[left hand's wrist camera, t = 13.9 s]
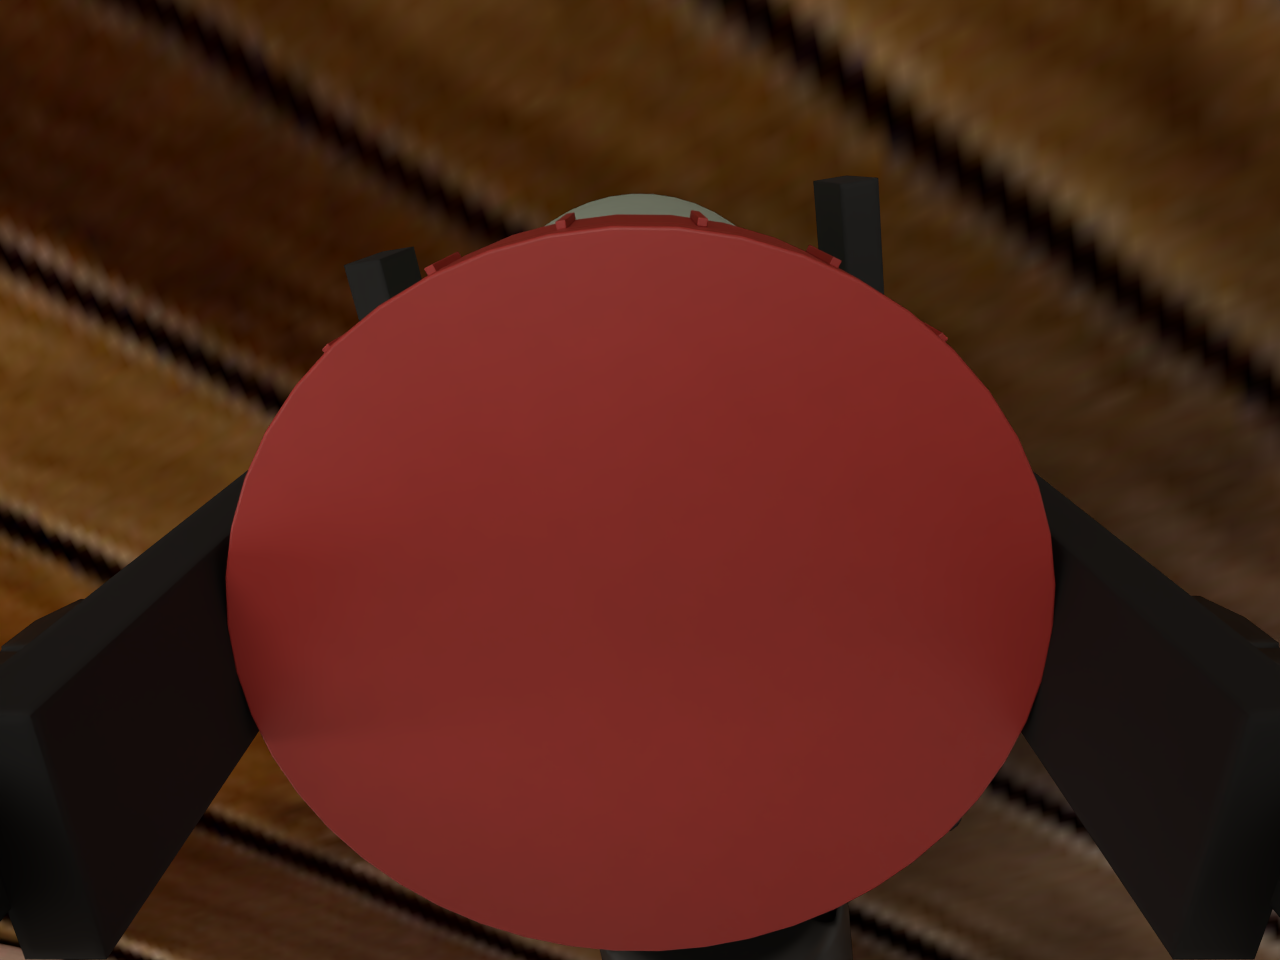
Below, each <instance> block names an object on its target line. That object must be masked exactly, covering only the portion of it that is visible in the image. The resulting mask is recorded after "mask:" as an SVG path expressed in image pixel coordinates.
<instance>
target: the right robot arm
mask: <svg viewBox="0 0 1280 960" xmlns="http://www.w3.org/2000/svg"><path fill="white" fill-rule="evenodd" d="M813 182H814V195H815V208H816V221H817V234H818V248H819V250H821V251H823V252H825V253H827V254H829V255H831V256H833V257H835V258H837V259H839V260H841V263H840V265H839V267H838V268H840V269H841V270H843V271H845V272H847V273H849V274H851V275H853V276H854V277H856V278H858V279H860V280H861V281H863V282H865V283H866V284H868V285H869V286H871V287H872V288H874V289H876V290H877V291H879V292H880V293H882V294H883V295H884V285H883V265H882V246H881V226H880V206H879V186H878V178H872V177H858V176H842V177H835V178H829V179H823V180H817V181H813ZM344 267H345V270H346V274H347V278H348V281H349V285H350V289H351V292H352V296H353V299H354V303H355V307H356V310H357V314H358V318H359V321H361V320H362V319H363V318H364V317H366V316H367V315H368V314H369V313H370V312H372V311H373V310H374V309H375V308H376V307H378V306H379V305H381V304H382V303H384V302H386V301H387V300H389V299H391V298H392V297H394V296H395V295H397V294H399V293H400V292H402V291H404V290H405V289H407V288H409V287H410V286H412V285H414V284H415V283H417V282H418V281H420V280H422V279H421V275H420V271H419V267H418V263H417V259H416V255H415V251H414V247H409V248H402V249H396V250H390V251H384V252H380V253H378V254H375V255H372V256H369V257H366V258H363V259H360V260H358V261H355V262H352V263H349V264H346V265H344ZM961 818H962V817H961ZM960 821H961V819H960V820H959V821H958V822H957V823H956V824H955V825H954V826H953V827H952V828H951V829H950V830H949V831H951V830H952V829H954V828H955V827H956V826H957V825H958V824H959V822H960ZM600 952H601V956H602V960H853V955H852V943H851V931H850V920H849V909H848V902H847V903H845V904H844V905H842V906H840V907H838V908H836V909H834V910H831V911H829V912H826V913H824V914H821V915H819V916H816V917H814V918H811V919H809V920H807V921H804V922H802V923H799V924H797V925H794V926H791V927H788V928H784V929H781V930H777V931H774V932H770V933H767V934H764V935H760V936H757V937H753V938H750V939H745V940H739V941H734V942H729V943H723V944H718V945H713V946H707V947H699V948H687V949H676V950H665V951H613V950H603V949H600Z"/></svg>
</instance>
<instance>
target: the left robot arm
mask: <svg viewBox="0 0 1280 960" xmlns="http://www.w3.org/2000/svg"><path fill="white" fill-rule="evenodd" d="M247 472H248V471H246V472H245V473H244V474H242V475H241V476H240V477H239V478H237V479H236V480H235V481H234V482H232V483H231V484H230V485H229V486H227V487H226V488H225V489H223V490H222V491H221V492H220V493H218V494H217V495H216V496H215V497H213V498H212V499H211V500H210V501H208V502H207V503H206V504H204V505H203V506H202V507H201V508H199V509H198V510H197V511H196V512H194V513H193V514H192V515H191V516H189V517H188V518H187V519H185V520H184V521H183V522H182V523H180V524H179V525H178V526H177V527H175V528H174V529H173V530H172V531H170V532H169V533H168V534H166V535H165V536H164V537H163V538H161V539H160V540H159V541H158V542H156V543H155V544H154V545H153V546H151V547H150V548H149V549H147V550H146V551H145V552H144V553H142V554H141V555H140V556H139V557H137V558H136V559H135V560H134V561H132V562H131V563H130V564H128V565H127V566H126V567H125V568H123V569H122V570H121V571H120V572H118V573H117V574H116V575H115V576H113V577H112V578H111V579H109V580H108V581H107V582H106V583H104V584H103V585H102V586H101V587H99V588H98V589H97V590H95V591H94V592H93V593H92V594H90V595H89V596H88V597H87V598H85V599H80V600H78V601H75V602H73V603H71V604H69V605H67V606H65V607H63V608H61V609H59V610H57V611H55V612H52V613H50V614H48V615H46V616H44V617H42V618H40V619H38V620H36V621H34V622H33V623H32V624H30V625H29V626H28V627H26V628H25V629H24V630H22V631H21V632H20V633H18V634H17V635H16V636H15V637H13V638H12V639H11V640H9V641H8V642H7V643H5V644H4V645H3V646H2V650H1V651H0V921H1V920H2V919H3V917H4V916H5V915H6V914H7V913H8V914H9V916H10V919H11V922H12V925H13V927H14V930H15V933H16V936H17V939H18V941H19V944H20V947H21V950H22V952H23V955H24V958H25V959H107V958H108V956H109V955H110V953H111V952H112V950H113V949H114V947H115V946H116V944H117V943H118V941H119V940H120V938H121V937H122V935H123V934H124V932H125V931H126V929H127V928H128V926H129V925H130V923H131V922H132V920H133V919H134V917H135V916H136V914H137V913H138V911H139V910H140V908H141V907H142V905H143V904H144V902H145V901H146V899H147V898H148V896H149V895H150V893H151V892H152V890H153V889H154V887H155V886H156V884H157V883H158V881H159V880H160V878H161V877H162V875H163V874H164V872H165V871H166V869H167V868H168V866H169V865H170V863H171V862H172V860H173V859H174V857H175V856H176V854H177V853H178V851H179V850H180V848H181V847H182V845H183V844H184V842H185V841H186V839H187V838H188V836H189V835H190V833H191V832H192V830H193V829H194V827H195V826H196V824H197V823H198V821H199V820H200V818H201V817H202V815H203V814H204V812H205V811H206V809H207V808H208V806H209V805H210V803H211V802H212V800H213V799H214V797H215V796H216V794H217V793H218V791H219V790H220V788H221V787H222V785H223V784H224V782H225V781H226V779H227V778H228V776H229V775H230V773H231V772H232V770H233V769H234V768H235V766H236V765H237V763H238V762H239V760H240V759H241V757H242V756H243V754H244V753H245V751H246V750H247V748H248V747H249V745H250V744H251V742H252V741H253V739H254V738H255V736H256V735H257V733H258V732H259V729H258V727H257V725H256V723H255V721H254V719H253V717H252V715H251V712H250V709H249V707H248V704H247V701H246V698H245V695H244V692H243V689H242V686H241V683H240V681H239V678H238V675H237V672H236V667H235V662H234V657H233V651H232V646H231V641H230V636H229V630H228V625H227V600H226V569H227V560H228V551H229V542H230V533H231V526H232V522H233V519H234V515H235V512H236V508H237V504H238V501H239V497H240V493H241V490H242V486H243V482H244V479H245V476H246V474H247ZM1033 474H1034V476H1035V478H1036V481H1037V483H1038V485H1039V489H1040V493H1041V497H1042V501H1043V505H1044V509H1045V513H1046V517H1047V521H1048V525H1049V529H1050V533H1051V542H1052V553H1053V564H1054V575H1055V598H1054V614H1053V627H1052V633H1051V638H1050V642H1049V647H1048V652H1047V657H1046V662H1045V667H1044V672H1043V677H1042V681H1041V684H1040V687H1039V689H1038V692H1037V695H1036V697H1035V700H1034V703H1033V705H1032V708H1031V711H1030V714H1029V716H1028V719H1027V722H1026V724H1025V725H1024V727H1023V729H1022V731H1021V732H1022V734H1023V735H1024V737H1025V738H1026V740H1027V741H1028V743H1029V744H1030V746H1031V747H1032V749H1033V750H1034V752H1035V753H1036V755H1037V756H1038V758H1039V759H1040V761H1041V762H1042V764H1043V765H1044V767H1045V768H1046V770H1047V771H1048V773H1049V774H1050V776H1051V777H1052V779H1053V780H1054V782H1055V783H1056V785H1057V786H1058V788H1059V789H1060V791H1061V792H1062V794H1063V795H1064V797H1065V798H1066V800H1067V801H1068V803H1069V804H1070V806H1071V807H1072V809H1073V810H1074V812H1075V813H1076V815H1077V816H1078V818H1079V819H1080V821H1081V822H1082V824H1083V825H1084V827H1085V828H1086V830H1087V831H1088V833H1089V834H1090V836H1091V837H1092V839H1093V840H1094V842H1095V843H1096V845H1097V846H1098V848H1099V849H1100V851H1101V852H1102V854H1103V855H1104V857H1105V858H1106V860H1107V861H1108V863H1109V864H1110V866H1111V867H1112V869H1113V870H1114V872H1115V873H1116V875H1117V876H1118V878H1119V879H1120V881H1121V882H1122V884H1123V885H1124V887H1125V888H1126V890H1127V891H1128V893H1129V894H1130V896H1131V897H1132V899H1133V900H1134V902H1135V903H1136V905H1137V906H1138V908H1139V909H1140V911H1141V912H1142V914H1143V915H1144V917H1145V918H1146V920H1147V921H1148V923H1149V924H1150V925H1151V927H1152V928H1153V930H1154V931H1155V933H1156V934H1157V936H1158V937H1159V939H1160V940H1161V942H1162V943H1163V945H1164V946H1165V948H1166V949H1167V951H1168V952H1169V954H1170V955H1171V957H1172V958H1173V959H1255V956H1256V953H1257V951H1258V948H1259V945H1260V942H1261V940H1262V937H1263V934H1264V931H1265V928H1266V926H1267V923H1268V920H1269V917H1270V915H1271V912H1272V909H1273V910H1274V911H1275V912H1276V913H1277V914H1278V916H1279V917H1280V648H1279V643H1278V642H1277V641H1275V640H1274V639H1273V638H1271V637H1270V636H1269V635H1268V634H1266V633H1265V632H1264V631H1262V630H1261V629H1260V628H1258V627H1257V626H1256V625H1254V624H1253V623H1252V622H1250V621H1249V620H1248V619H1246V618H1245V617H1243V616H1241V615H1239V614H1236V613H1234V612H1232V611H1230V610H1228V609H1226V608H1224V607H1222V606H1220V605H1218V604H1215V603H1213V602H1211V601H1209V600H1207V599H1205V598H1203V597H1201V596H1190V595H1189V594H1188V593H1186V592H1185V591H1184V590H1183V589H1181V588H1180V587H1179V586H1178V585H1176V584H1175V583H1174V582H1173V581H1171V580H1170V579H1169V578H1167V577H1166V576H1165V575H1164V574H1162V573H1161V572H1160V571H1159V570H1157V569H1156V568H1155V567H1154V566H1152V565H1151V564H1150V563H1148V562H1147V561H1146V560H1145V559H1143V558H1142V557H1141V556H1140V555H1138V554H1137V553H1136V552H1135V551H1133V550H1132V549H1131V548H1129V547H1128V546H1127V545H1126V544H1124V543H1123V542H1122V541H1121V540H1119V539H1118V538H1117V537H1116V536H1114V535H1113V534H1112V533H1110V532H1109V531H1108V530H1107V529H1105V528H1104V527H1103V526H1102V525H1100V524H1099V523H1098V522H1097V521H1095V520H1094V519H1093V518H1091V517H1090V516H1089V515H1088V514H1086V513H1085V512H1084V511H1083V510H1081V509H1080V508H1079V507H1078V506H1076V505H1075V504H1074V503H1072V502H1071V501H1070V500H1069V499H1067V498H1066V497H1065V496H1064V495H1062V494H1061V493H1060V492H1059V491H1057V490H1056V489H1055V488H1053V487H1052V486H1051V485H1050V484H1048V483H1047V482H1046V481H1045V480H1043V479H1042V478H1041V477H1040V476H1038V475H1037V474H1036V473H1034V472H1033Z"/></svg>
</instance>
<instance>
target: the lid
mask: <svg viewBox="0 0 1280 960" xmlns="http://www.w3.org/2000/svg"><path fill="white" fill-rule="evenodd" d="M840 263H841V260H839V259H837V258H835V257H833V256H831V255H829V254H827V253H825V252H823V251H821V250H819V249H817V248H815V247H813V246H811V245H809V246H808V248H807V250H806V252H805V251H803V250H801V249H799V248H797V247H794V246H792V245H790V244H788V243H786V242H783V241H781V240H779V239H777V238H774V237H771V236H768V235H764V234H761V233H757V232H754V231H751V230H747V229H744V228H740V227H737V226H733V225H730V224H727V223H722V222H716V221H709V220H708V218H706V217H705V216H704V215H703V214H702V213H701V212H699V211H694V210H691V213H690V218H689V217H682V216H675V215H634V214H616V215H608V216H600V217H593V218H585V219H577V220H576V217H575V213H568V214H566V215H564V216H563V217H561V218H560V219H559V220H557V221H556V222H555V224H552V225H548V226H545V227H541V228H537V229H533V230H530V231H526V232H522V233H519V234H515V235H512V236H510V237H507V238H505V239H503V240H500V241H498V242H496V243H493V244H491V245H489V246H486V247H484V248H482V249H479V250H477V251H475V252H472V253H470V254H468V255H465V256H463V257H461V255H460V254H459V252H456V253H454V254H452V255H450V256H448V257H446V258H444V259H442V260H440V261H438V262H436V263H434V264H432V265H430V266H428V267H426V268H425V271H426V273H427V275H428V276H427V277H425V278H423V279H422V280H420V281H418V282H417V283H415V284H414V285H412V286H410V287H409V288H407V289H405V290H404V291H402V292H400V293H399V294H397V295H395V296H394V297H392V298H391V299H389V300H387V301H386V302H384V303H382V304H381V305H379V306H378V307H376V308H375V309H374V310H373V311H372V312H370V313H369V314H368V315H367V316H366V317H364V318H363V319H362V320H361V321H360V322H358V323H357V324H356V325H355V326H353V327H352V328H351V329H350V330H349V331H347V332H346V333H345V334H344V335H342V336H340V337H339V338H337V339H335V340H333V341H332V342H330V343H328V344H327V345H326V346H325V347H324V348H323V349H322V351H323V352H325V353H324V354H323V355H322V356H321V358H320V359H319V360H318V361H317V362H316V363H315V364H314V365H313V366H312V368H311V369H310V370H309V371H308V372H307V373H306V374H305V375H304V377H303V378H302V379H301V380H300V381H299V382H298V383H297V384H296V386H295V387H294V389H293V390H292V392H291V393H290V395H289V396H288V398H287V399H286V401H285V402H284V404H283V405H282V407H281V409H280V410H279V412H278V413H277V415H276V416H275V418H274V419H273V421H272V422H271V424H270V425H269V427H268V428H267V430H266V432H265V434H264V436H263V439H262V441H261V443H260V445H259V447H258V450H257V452H256V454H255V456H254V459H253V461H252V463H251V465H250V467H249V470H248V472H247V474H246V476H245V479H244V482H243V486H242V490H241V493H240V497H239V501H238V504H237V508H236V512H235V515H234V519H233V522H232V526H231V533H230V542H229V551H228V560H227V569H226V600H227V625H228V630H229V636H230V641H231V646H232V651H233V657H234V662H235V667H236V672H237V675H238V678H239V681H240V683H241V686H242V689H243V692H244V695H245V698H246V701H247V704H248V707H249V709H250V712H251V715H252V717H253V719H254V721H255V723H256V725H257V727H258V729H259V731H260V733H261V735H262V737H263V739H264V741H265V743H266V745H267V747H268V749H269V751H270V753H271V755H272V756H273V758H274V759H275V761H276V762H277V764H278V765H279V767H280V768H281V769H282V771H283V772H284V774H285V775H286V777H287V778H288V780H289V781H290V783H291V784H292V786H293V787H294V788H295V790H296V791H297V793H298V794H299V795H300V796H301V797H302V799H303V800H304V801H305V802H306V803H307V804H308V805H309V807H310V808H311V809H312V810H313V811H314V812H315V813H316V814H317V816H318V817H319V818H320V819H321V820H322V821H323V822H324V823H325V825H326V826H327V827H328V828H329V829H330V830H332V831H333V832H334V833H335V834H336V835H337V836H338V837H339V838H341V839H342V840H343V841H344V842H345V843H346V844H347V845H348V846H350V847H351V848H352V849H353V850H354V851H355V852H356V853H357V854H359V855H360V856H361V857H362V858H363V859H365V860H366V861H368V862H369V863H370V864H372V865H373V866H375V867H376V868H378V869H379V870H380V871H382V872H383V873H385V874H386V875H387V876H389V877H390V878H392V879H393V880H395V881H396V882H397V883H399V884H401V885H402V886H404V887H406V888H408V889H410V890H411V891H413V892H415V893H417V894H419V895H420V896H422V897H424V898H426V899H428V900H430V901H431V902H433V903H435V904H437V905H439V906H441V907H443V908H446V909H448V910H450V911H453V912H455V913H457V914H460V915H462V916H464V917H467V918H469V919H472V920H474V921H476V922H479V923H481V924H484V925H488V926H491V927H494V928H497V929H500V930H504V931H507V932H510V933H513V934H517V935H520V936H523V937H528V938H532V939H537V940H542V941H547V942H552V943H557V944H562V945H567V946H575V947H584V948H594V949H603V950H613V951H665V950H676V949H687V948H699V947H707V946H713V945H718V944H723V943H729V942H734V941H739V940H745V939H750V938H753V937H757V936H760V935H764V934H767V933H770V932H774V931H777V930H781V929H784V928H788V927H791V926H794V925H797V924H799V923H802V922H804V921H807V920H809V919H811V918H814V917H816V916H819V915H821V914H824V913H826V912H829V911H831V910H834V909H836V908H838V907H840V906H842V905H844V904H845V903H847V902H849V901H851V900H853V899H855V898H857V897H859V896H861V895H862V894H864V893H866V892H868V891H870V890H872V889H874V888H876V887H877V886H879V885H880V884H882V883H883V882H884V881H886V880H887V879H889V878H890V877H892V876H893V875H895V874H896V873H898V872H899V871H901V870H902V869H904V868H905V867H907V866H908V865H910V864H911V863H913V862H914V861H915V860H916V859H917V858H918V857H920V856H921V855H922V854H923V853H924V852H925V851H927V850H928V849H929V848H930V847H931V846H932V845H934V844H935V843H936V842H937V841H938V840H939V839H941V838H942V837H943V836H944V835H945V834H947V833H948V832H949V830H950V829H951V828H952V827H953V826H954V825H955V824H956V823H957V822H958V821H959V820H960V819H961V817H962V816H963V815H964V814H965V813H966V812H967V811H968V810H969V809H970V808H971V807H972V806H973V804H974V803H975V802H976V801H977V800H978V799H979V798H980V796H981V795H982V793H983V792H984V791H985V789H986V788H987V786H988V785H989V784H990V782H991V781H992V779H993V778H994V777H995V775H996V774H997V772H998V771H999V770H1000V768H1001V767H1002V765H1003V764H1004V763H1005V761H1006V759H1007V757H1008V755H1009V753H1010V752H1011V750H1012V748H1013V746H1014V744H1015V742H1016V740H1017V739H1018V737H1019V735H1020V733H1021V731H1022V729H1023V727H1024V725H1025V724H1026V722H1027V719H1028V716H1029V714H1030V711H1031V708H1032V705H1033V703H1034V700H1035V697H1036V695H1037V692H1038V689H1039V687H1040V684H1041V681H1042V677H1043V672H1044V667H1045V662H1046V657H1047V652H1048V647H1049V642H1050V638H1051V633H1052V627H1053V614H1054V598H1055V575H1054V564H1053V553H1052V542H1051V533H1050V529H1049V525H1048V521H1047V517H1046V513H1045V509H1044V505H1043V501H1042V497H1041V493H1040V489H1039V485H1038V483H1037V481H1036V478H1035V476H1034V474H1033V471H1032V469H1031V466H1030V464H1029V462H1028V459H1027V457H1026V455H1025V452H1024V450H1023V448H1022V445H1021V443H1020V440H1019V438H1018V436H1017V435H1016V433H1015V432H1014V430H1013V428H1012V427H1011V425H1010V423H1009V422H1008V420H1007V419H1006V417H1005V415H1004V414H1003V412H1002V411H1001V409H1000V407H999V406H998V404H997V402H996V401H995V399H994V398H993V396H992V394H991V393H990V391H989V390H988V389H987V388H986V387H985V386H984V384H983V383H982V382H981V381H980V380H979V379H978V377H977V376H976V375H975V374H974V373H973V372H972V370H971V369H970V368H969V367H968V366H967V364H966V363H965V362H964V361H963V360H962V359H961V357H960V356H959V355H958V354H957V353H956V352H955V350H954V349H953V348H951V347H950V346H949V345H948V344H947V343H946V341H947V340H948V338H947V337H946V336H945V335H944V334H943V333H942V332H940V331H938V330H937V329H935V328H933V327H931V326H929V325H928V324H926V323H924V322H922V321H921V320H919V319H918V318H917V317H916V316H914V315H913V314H912V313H911V312H910V311H908V310H907V309H905V308H904V307H902V306H901V305H899V304H897V303H896V302H894V301H893V300H891V299H890V298H888V297H886V296H885V295H883V294H882V293H880V292H879V291H877V290H876V289H874V288H872V287H871V286H869V285H868V284H866V283H865V282H863V281H861V280H860V279H858V278H856V277H854V276H853V275H851V274H849V273H847V272H845V271H843V270H841V269H840V268H838V267H839V265H840Z"/></svg>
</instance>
